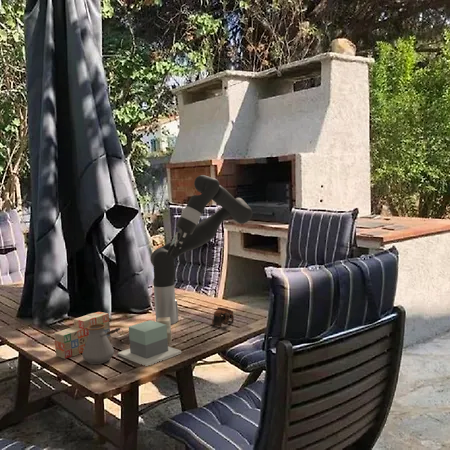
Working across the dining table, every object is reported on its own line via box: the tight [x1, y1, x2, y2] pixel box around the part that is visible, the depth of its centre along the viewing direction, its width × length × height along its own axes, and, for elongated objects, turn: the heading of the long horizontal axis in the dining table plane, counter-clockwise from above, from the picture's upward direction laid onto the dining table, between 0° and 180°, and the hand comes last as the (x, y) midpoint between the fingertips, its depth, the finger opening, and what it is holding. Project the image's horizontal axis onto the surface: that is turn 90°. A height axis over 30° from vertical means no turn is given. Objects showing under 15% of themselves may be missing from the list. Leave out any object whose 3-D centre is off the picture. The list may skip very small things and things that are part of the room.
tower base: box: [117, 319, 182, 367], centre depth 192 cm, size 16×18×11 cm
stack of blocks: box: [53, 311, 112, 360], centre depth 201 cm, size 21×6×12 cm, turn 141°
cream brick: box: [157, 317, 172, 344], centre depth 206 cm, size 5×5×9 cm
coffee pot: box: [81, 324, 124, 365], centre depth 185 cm, size 21×12×15 cm, turn 46°
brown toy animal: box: [211, 306, 235, 327], centre depth 224 cm, size 12×10×8 cm
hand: (170, 256), depth 206 cm, fingers open, 8 cm apart
